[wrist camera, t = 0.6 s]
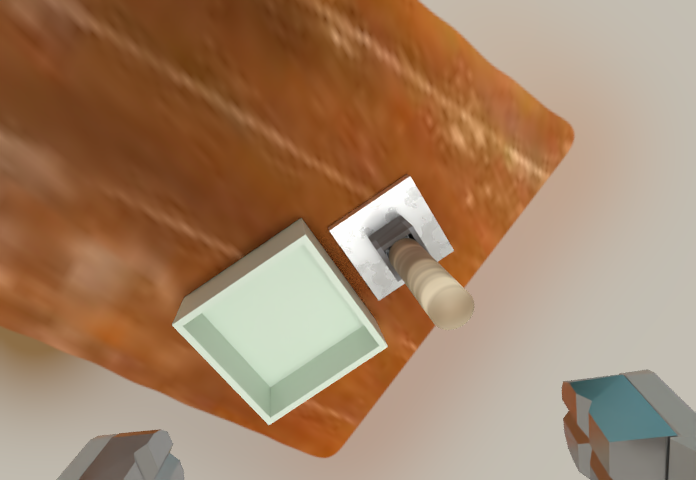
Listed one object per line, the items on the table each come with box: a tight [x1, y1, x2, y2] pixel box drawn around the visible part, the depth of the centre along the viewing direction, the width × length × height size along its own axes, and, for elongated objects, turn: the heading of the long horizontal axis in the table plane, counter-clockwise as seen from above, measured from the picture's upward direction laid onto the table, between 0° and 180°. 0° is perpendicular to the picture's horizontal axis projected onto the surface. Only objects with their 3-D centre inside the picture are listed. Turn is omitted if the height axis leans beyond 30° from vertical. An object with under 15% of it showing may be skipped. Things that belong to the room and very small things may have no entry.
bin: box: [172, 218, 388, 425], centre depth 54 cm, size 18×18×7 cm
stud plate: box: [328, 174, 454, 300], centre depth 53 cm, size 12×12×6 cm
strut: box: [368, 215, 474, 330], centre depth 46 cm, size 5×5×19 cm
